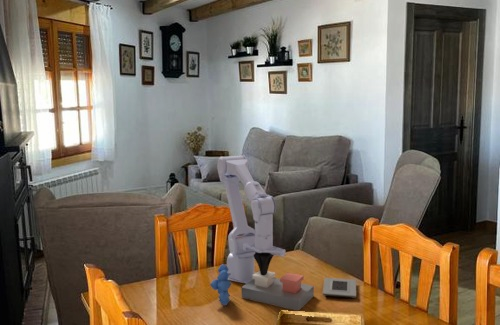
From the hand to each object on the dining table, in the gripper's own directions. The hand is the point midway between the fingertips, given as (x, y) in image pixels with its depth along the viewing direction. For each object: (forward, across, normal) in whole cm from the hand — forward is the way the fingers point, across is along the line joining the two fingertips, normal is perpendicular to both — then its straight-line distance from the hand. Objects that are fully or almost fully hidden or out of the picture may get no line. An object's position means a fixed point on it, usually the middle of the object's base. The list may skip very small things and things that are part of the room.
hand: (263, 274), depth 162 cm
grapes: (+7, -9, -12) cm, 17 cm away
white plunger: (+5, 0, 0) cm, 5 cm away
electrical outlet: (+8, +21, +14) cm, 26 cm away
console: (+7, +5, 0) cm, 8 cm away
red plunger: (+4, +10, 0) cm, 11 cm away
